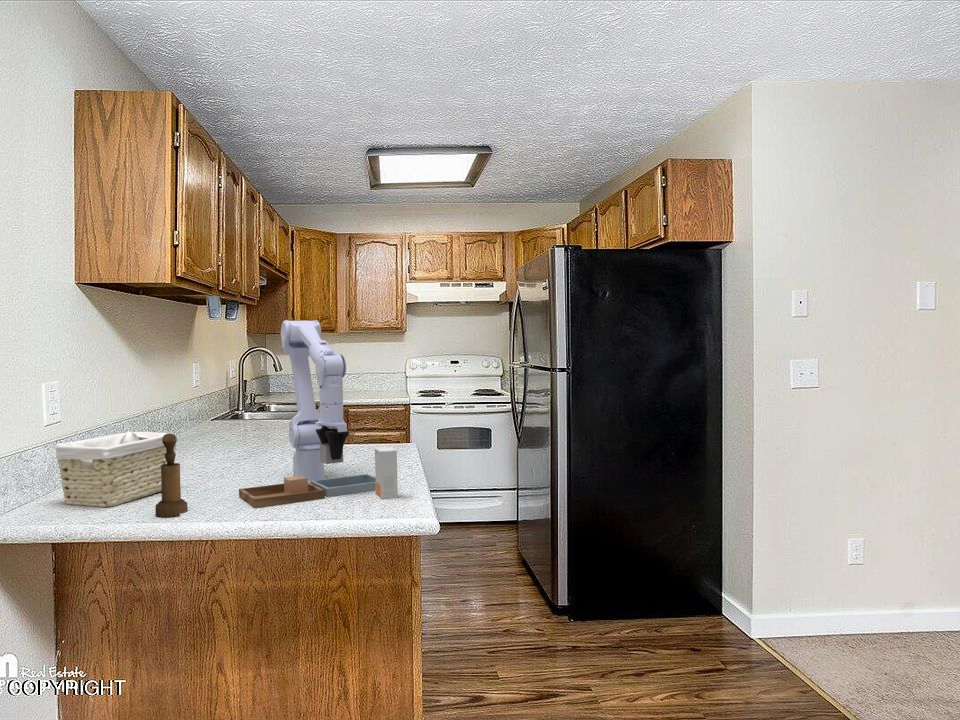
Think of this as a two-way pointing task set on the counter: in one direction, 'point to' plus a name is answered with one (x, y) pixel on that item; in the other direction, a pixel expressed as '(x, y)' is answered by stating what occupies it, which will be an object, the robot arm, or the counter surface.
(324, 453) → the grey cube
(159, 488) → the storage basket
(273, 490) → the walnut bin
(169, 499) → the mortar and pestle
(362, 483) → the slate tray
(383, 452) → the skincare box
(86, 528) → the counter surface
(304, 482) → the russet cube
